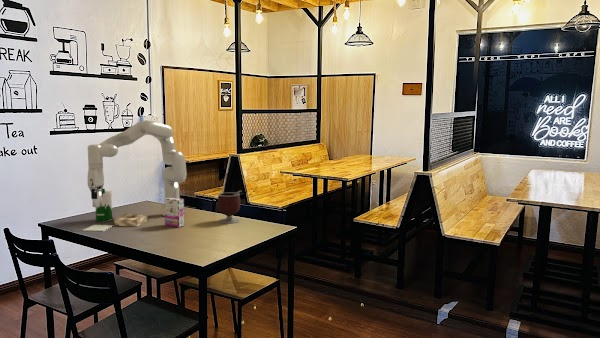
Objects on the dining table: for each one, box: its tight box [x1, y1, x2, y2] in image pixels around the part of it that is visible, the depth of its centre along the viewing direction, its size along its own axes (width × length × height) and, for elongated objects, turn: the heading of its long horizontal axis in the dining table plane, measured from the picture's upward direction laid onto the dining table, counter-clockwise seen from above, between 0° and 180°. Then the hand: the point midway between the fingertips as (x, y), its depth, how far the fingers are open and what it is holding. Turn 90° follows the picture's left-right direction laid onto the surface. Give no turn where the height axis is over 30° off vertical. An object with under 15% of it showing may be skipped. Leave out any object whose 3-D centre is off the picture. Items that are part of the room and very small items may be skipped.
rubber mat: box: [82, 224, 115, 232], centre depth 259 cm, size 12×12×1 cm
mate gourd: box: [217, 190, 242, 225], centre depth 278 cm, size 16×14×20 cm
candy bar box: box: [163, 197, 185, 228], centre depth 266 cm, size 11×5×16 cm, turn 62°
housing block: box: [113, 213, 148, 227], centre depth 272 cm, size 14×14×4 cm
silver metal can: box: [91, 188, 102, 208], centre depth 257 cm, size 5×5×10 cm
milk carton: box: [94, 188, 114, 222], centre depth 279 cm, size 9×9×20 cm
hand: (97, 197), depth 257 cm, fingers closed on silver metal can, 5 cm apart
